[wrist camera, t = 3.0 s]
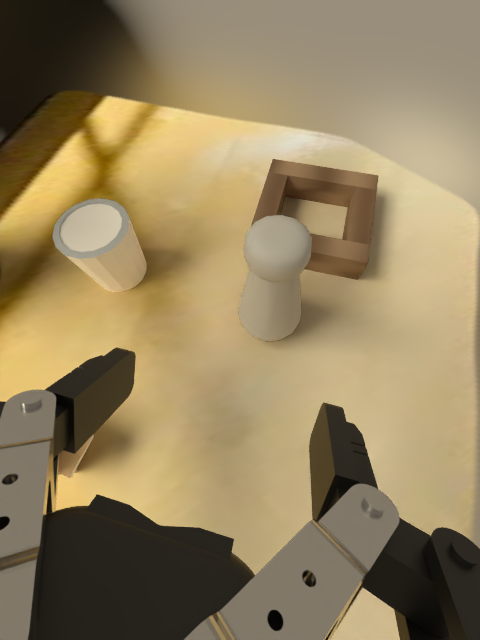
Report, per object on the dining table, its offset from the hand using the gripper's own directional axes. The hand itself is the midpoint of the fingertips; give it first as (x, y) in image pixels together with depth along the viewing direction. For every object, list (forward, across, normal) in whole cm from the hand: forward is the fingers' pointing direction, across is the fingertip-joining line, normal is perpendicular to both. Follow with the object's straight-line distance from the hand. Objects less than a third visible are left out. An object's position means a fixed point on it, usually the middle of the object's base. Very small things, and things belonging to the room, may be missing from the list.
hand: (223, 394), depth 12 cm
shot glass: (+20, -16, -2) cm, 26 cm away
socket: (+27, +3, +7) cm, 28 cm away
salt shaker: (+18, +1, -3) cm, 18 cm away
